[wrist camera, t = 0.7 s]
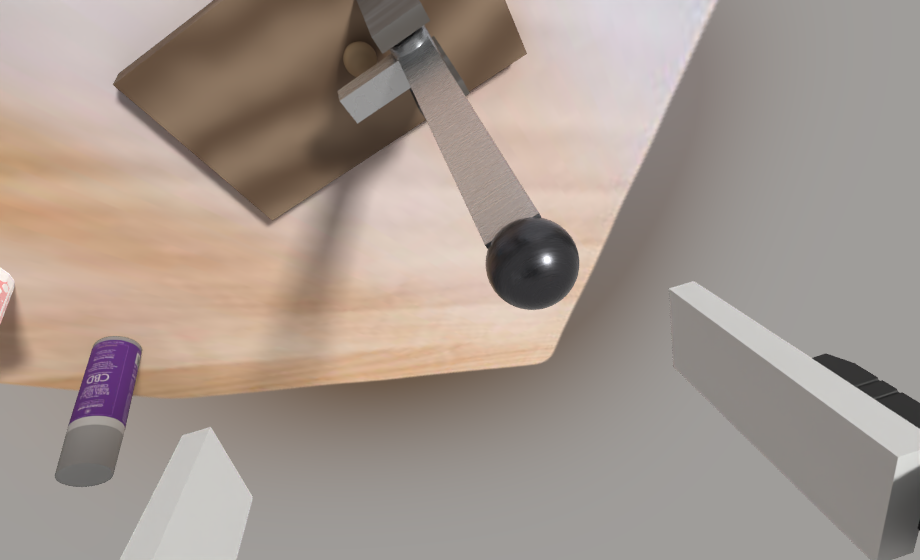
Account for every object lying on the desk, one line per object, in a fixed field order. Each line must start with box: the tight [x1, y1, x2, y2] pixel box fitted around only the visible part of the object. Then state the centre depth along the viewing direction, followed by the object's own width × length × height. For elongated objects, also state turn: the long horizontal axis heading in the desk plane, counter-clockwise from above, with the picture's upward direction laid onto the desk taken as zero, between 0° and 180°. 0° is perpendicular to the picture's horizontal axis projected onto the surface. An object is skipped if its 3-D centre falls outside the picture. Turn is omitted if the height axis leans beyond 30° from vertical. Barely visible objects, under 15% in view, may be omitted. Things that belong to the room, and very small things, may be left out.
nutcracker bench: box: [113, 0, 527, 220], centre depth 37 cm, size 16×28×10 cm, turn 119°
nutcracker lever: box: [337, 25, 579, 310], centre depth 26 cm, size 4×8×24 cm, turn 119°
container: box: [55, 336, 142, 487], centre depth 51 cm, size 5×5×15 cm
